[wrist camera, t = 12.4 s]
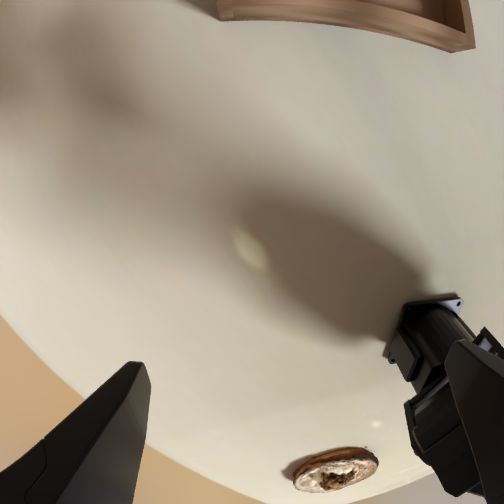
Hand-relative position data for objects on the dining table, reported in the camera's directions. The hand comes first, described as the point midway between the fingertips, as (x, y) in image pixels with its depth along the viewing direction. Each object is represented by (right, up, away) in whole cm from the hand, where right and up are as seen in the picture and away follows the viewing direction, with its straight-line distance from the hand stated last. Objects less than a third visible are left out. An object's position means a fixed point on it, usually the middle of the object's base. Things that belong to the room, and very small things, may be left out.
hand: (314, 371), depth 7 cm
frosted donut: (+10, -27, +27) cm, 40 cm away
